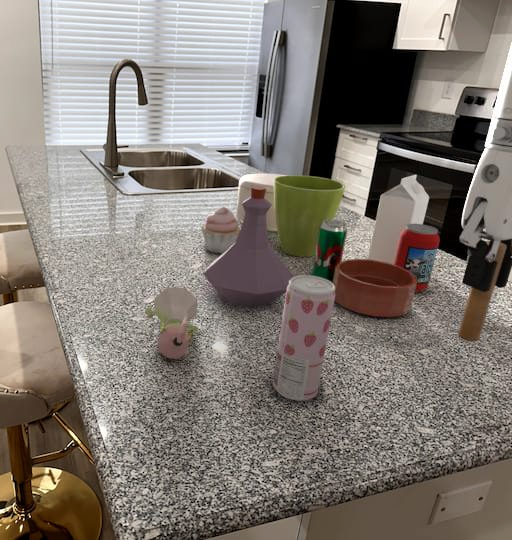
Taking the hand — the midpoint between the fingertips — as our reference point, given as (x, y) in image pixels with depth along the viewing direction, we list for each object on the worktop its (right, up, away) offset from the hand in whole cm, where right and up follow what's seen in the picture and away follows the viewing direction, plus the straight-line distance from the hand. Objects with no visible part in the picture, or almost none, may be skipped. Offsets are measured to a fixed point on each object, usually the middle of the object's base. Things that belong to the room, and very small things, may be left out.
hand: (483, 284), depth 65 cm
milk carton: (+10, +3, +47) cm, 49 cm away
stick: (0, -7, +3) cm, 8 cm away
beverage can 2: (+8, -2, +35) cm, 36 cm away
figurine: (-39, -9, +13) cm, 42 cm away
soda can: (-8, -1, +37) cm, 37 cm away
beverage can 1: (-23, -14, +2) cm, 27 cm away
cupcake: (-26, +6, +52) cm, 58 cm away
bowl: (-3, -4, +28) cm, 28 cm away
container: (-10, +14, +73) cm, 75 cm away
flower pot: (-8, +6, +52) cm, 53 cm away
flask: (-25, -3, +28) cm, 38 cm away
